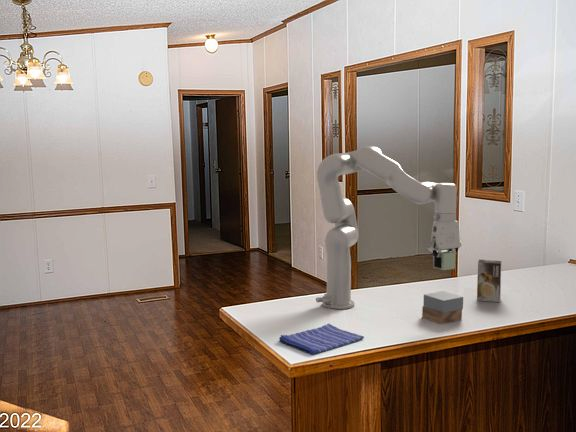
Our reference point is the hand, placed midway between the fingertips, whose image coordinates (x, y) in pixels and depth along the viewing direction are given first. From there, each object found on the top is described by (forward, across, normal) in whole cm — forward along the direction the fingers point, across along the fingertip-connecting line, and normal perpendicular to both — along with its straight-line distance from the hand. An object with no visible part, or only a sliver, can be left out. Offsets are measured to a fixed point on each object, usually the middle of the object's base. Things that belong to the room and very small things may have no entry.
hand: (444, 266), depth 225 cm
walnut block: (+20, 0, 0) cm, 20 cm away
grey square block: (+16, 0, 0) cm, 16 cm away
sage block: (+1, 0, 0) cm, 1 cm away
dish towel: (+20, -52, 0) cm, 56 cm away
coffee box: (+20, +35, +11) cm, 42 cm away
